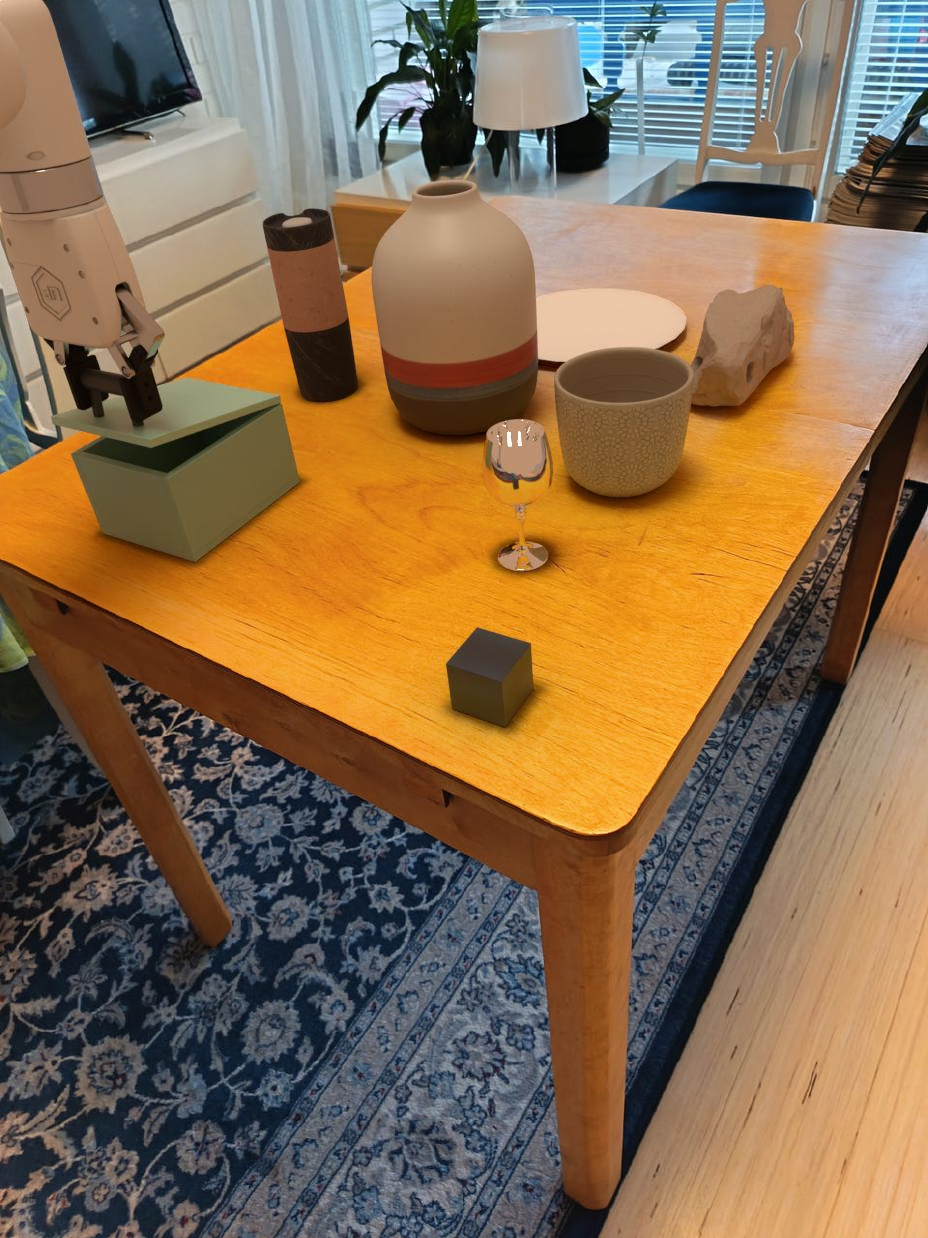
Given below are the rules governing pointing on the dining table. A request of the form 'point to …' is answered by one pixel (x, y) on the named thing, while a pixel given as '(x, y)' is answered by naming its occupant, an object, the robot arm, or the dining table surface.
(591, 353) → the planter
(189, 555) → the cool box
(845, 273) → the dining table surface
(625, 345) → the plate
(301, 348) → the travel mug
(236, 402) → the cool box lid
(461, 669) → the block
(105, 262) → the robot arm
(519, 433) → the wineglass
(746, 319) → the decorative stone
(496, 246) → the vase
